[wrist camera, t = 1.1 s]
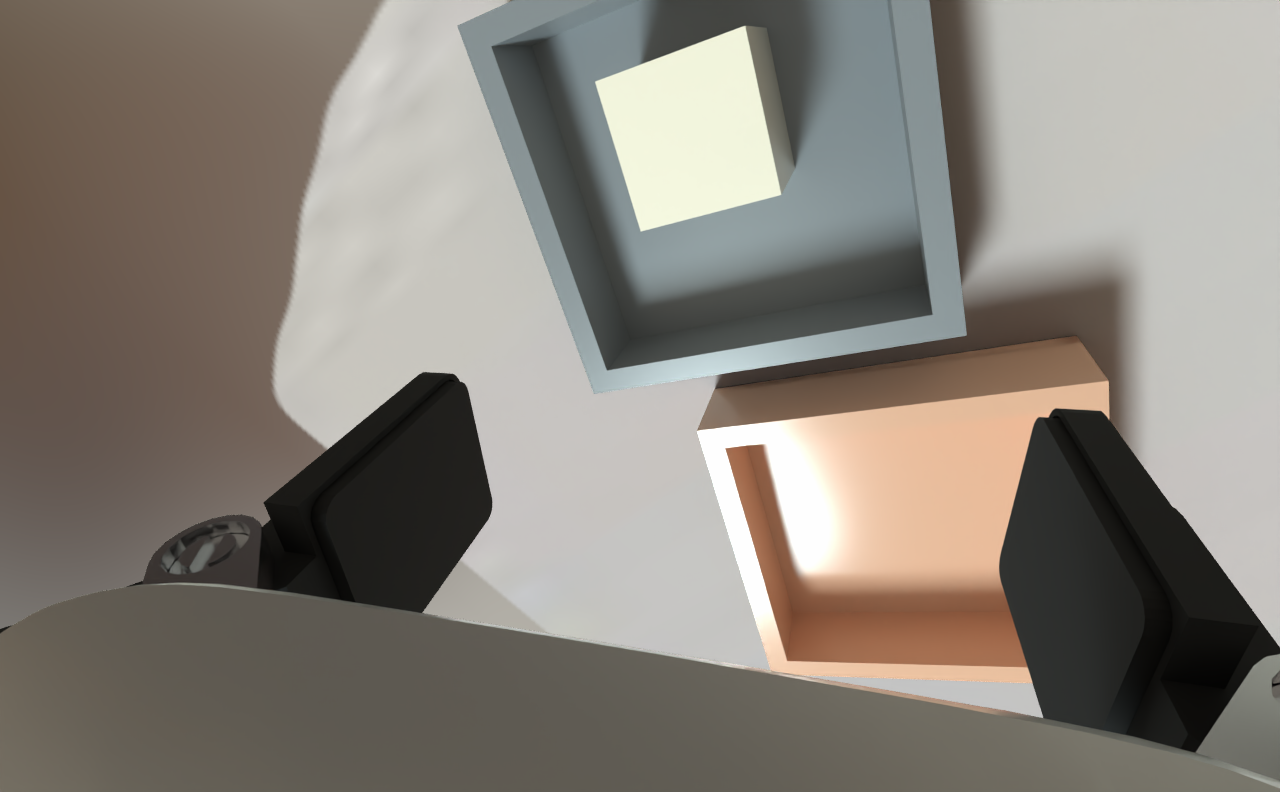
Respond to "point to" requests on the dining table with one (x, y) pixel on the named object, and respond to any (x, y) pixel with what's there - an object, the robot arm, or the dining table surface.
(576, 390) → the dining table surface
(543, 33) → the bin
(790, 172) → the stone block
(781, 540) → the tub
